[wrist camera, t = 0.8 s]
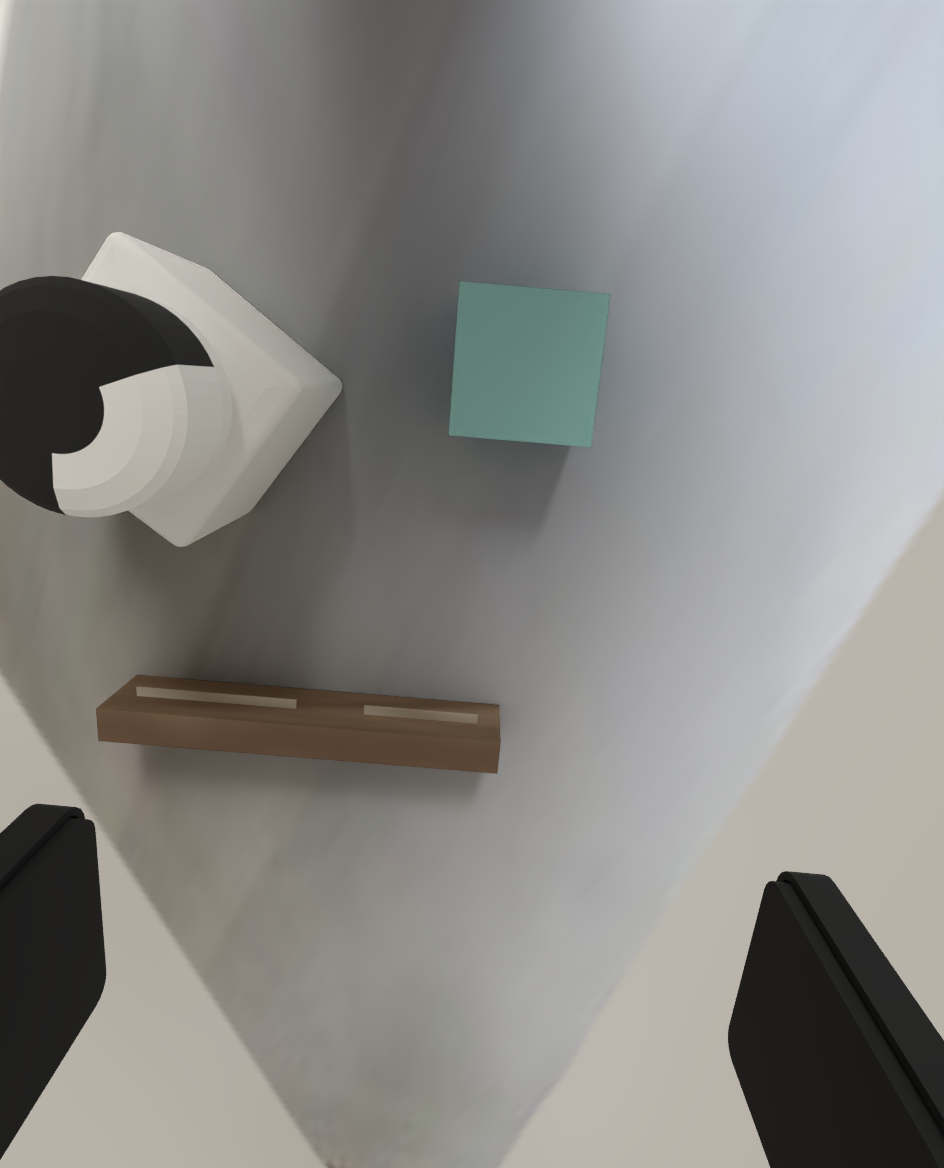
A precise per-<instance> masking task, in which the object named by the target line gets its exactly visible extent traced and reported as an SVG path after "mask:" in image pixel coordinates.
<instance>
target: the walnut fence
mask: <svg viewBox="0 0 944 1168" xmlns="http://www.w3.org/2000/svg"><path fill="white" fill-rule="evenodd" d="M96 714H97V727H98V739H99V741H107V742H119V743H131V744H143V745H155V746H168V747H180V748H192V749H204V750H216V751H229V752H241V753H253V754H265V755H277V756H290V757H302V758H314V759H326V760H338V761H351V762H363V763H375V764H387V765H399V766H412V767H424V768H436V769H448V770H460V771H473V772H485V773H497V771H498V761H499V752H500V718H499V705H495V704H483V703H471V702H459V701H446V700H434V699H422V698H410V697H398V696H386V695H374V694H361V693H349V692H337V691H325V690H313V689H301V688H289V687H276V686H264V685H252V684H240V683H228V682H216V681H204V680H191V679H179V678H167V677H155V676H143V675H136V676H135V677H134V678H133V679H131V680H130V681H129V682H128V683H127V684H125V685H124V686H123V687H122V688H121V689H119V690H118V691H117V692H116V693H115V694H113V695H112V696H111V697H110V698H109V699H107V700H106V701H105V702H104V703H103V704H101V705H100V706H99V707H98V708H97V709H96Z"/></svg>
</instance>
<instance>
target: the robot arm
mask: <svg viewBox="0 0 944 1168" xmlns="http://www.w3.org/2000/svg"><path fill="white" fill-rule="evenodd" d="M102 924H103V923H102V911H101V898H100V884H99V871H98V859H97V846H96V832H95V826H94V823H93V822H92V821H91V820H87V819H85V817H84V813H83V812H82V810H81V809H79V808H77V807H68V806H57V805H45V804H35V805H32V806H30V807H29V808H27V809H26V810H25V811H24V812H23V813H22V814H21V815H19V817H17V818H16V820H14V821H13V822H12V823H11V824H10V825H9V826H8V827H7V828H6V829H5V830H3V831H2V832H1V833H0V1159H1V1158H2V1156H3V1155H4V1153H5V1151H6V1150H7V1148H8V1147H9V1145H10V1143H11V1142H12V1140H13V1138H14V1137H15V1135H16V1134H17V1132H18V1130H19V1129H20V1127H21V1126H22V1124H23V1122H24V1121H25V1119H26V1118H27V1116H28V1114H29V1113H30V1111H31V1110H32V1108H33V1106H34V1105H35V1103H36V1102H37V1100H38V1098H39V1096H40V1095H41V1093H42V1092H43V1090H44V1089H45V1087H46V1085H47V1084H48V1082H49V1080H50V1079H51V1077H52V1076H53V1074H54V1073H55V1071H56V1069H57V1068H58V1066H59V1065H60V1063H61V1061H62V1060H63V1058H64V1057H65V1055H66V1053H67V1052H68V1050H69V1048H70V1047H71V1045H72V1044H73V1042H74V1040H75V1039H76V1037H77V1036H78V1034H79V1032H80V1030H81V1029H82V1028H83V1026H84V1024H85V1023H86V1021H87V1020H88V1018H89V1016H90V1015H91V1013H92V1012H93V1010H94V1008H95V1007H96V1005H97V1003H98V1001H99V999H100V997H101V994H102V992H103V989H104V985H105V980H106V963H105V950H104V936H103V925H102ZM728 1043H729V1050H730V1056H731V1059H732V1063H733V1065H734V1068H735V1071H736V1074H737V1077H738V1079H739V1082H740V1085H741V1088H742V1090H743V1093H744V1096H745V1099H746V1101H747V1104H748V1107H749V1110H750V1112H751V1115H752V1118H753V1121H754V1124H755V1126H756V1129H757V1132H758V1135H759V1137H760V1140H761V1143H762V1146H763V1148H764V1151H765V1154H766V1157H767V1159H768V1162H769V1165H770V1168H944V1040H943V1039H942V1037H941V1036H940V1035H939V1033H938V1032H937V1030H936V1029H935V1028H934V1026H933V1024H932V1023H931V1022H930V1020H929V1019H928V1017H927V1016H926V1014H925V1013H924V1012H923V1010H922V1009H921V1007H920V1006H919V1004H918V1003H917V1001H916V1000H915V999H914V997H913V996H912V994H911V993H910V991H909V990H908V989H907V987H906V986H905V984H904V983H903V981H902V980H901V978H900V977H899V975H898V974H897V972H896V971H895V970H894V968H893V967H892V965H891V964H890V962H889V961H888V959H887V958H886V957H885V955H884V954H883V952H882V951H881V949H880V948H879V946H878V945H877V944H876V942H875V941H874V939H873V938H872V937H871V935H870V934H869V932H868V931H867V929H866V928H865V926H864V925H863V923H862V922H861V921H860V919H859V918H858V916H857V915H856V913H855V912H854V910H853V909H852V907H851V906H850V905H849V903H848V902H847V900H846V899H845V897H844V896H843V895H842V893H841V892H840V890H839V889H838V887H837V886H836V884H835V883H834V882H833V881H832V880H831V878H830V877H828V876H826V875H821V874H809V873H799V872H788V871H786V872H782V873H781V874H780V875H779V876H778V878H777V881H776V882H775V881H770V882H768V883H767V884H766V887H765V889H764V893H763V897H762V900H761V904H760V908H759V912H758V916H757V920H756V924H755V928H754V931H753V936H752V939H751V943H750V947H749V951H748V955H747V959H746V963H745V966H744V970H743V975H742V978H741V982H740V986H739V990H738V994H737V997H736V1001H735V1005H734V1009H733V1013H732V1017H731V1021H730V1025H729V1030H728Z"/></svg>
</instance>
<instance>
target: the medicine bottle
mask: <svg viewBox="0 0 944 1168" xmlns="http://www.w3.org/2000/svg"><path fill="white" fill-rule="evenodd" d="M342 388H343V387H342V382H341V381H340V380H339V378H337V377H336V376H335V375H334V374H333V373H332V372H330V371H329V370H328V369H327V368H326V367H324V366H323V365H322V364H321V363H320V362H318V361H317V360H316V359H315V358H314V357H312V356H311V355H310V354H309V353H308V352H307V351H305V350H304V349H303V348H302V347H301V346H299V345H298V344H297V343H296V342H295V341H293V340H292V339H291V338H290V337H289V336H288V335H286V334H285V333H284V332H283V331H282V330H280V329H279V328H278V327H277V326H276V325H274V324H273V323H272V322H271V321H270V320H268V319H267V318H266V317H265V316H264V315H263V314H261V313H260V312H259V311H258V310H257V309H255V308H254V307H253V306H252V305H251V304H249V303H248V302H247V301H246V300H245V299H244V298H242V297H241V296H240V295H239V294H238V293H236V292H235V291H234V290H233V289H232V288H230V287H229V286H228V285H227V284H226V283H224V282H223V281H222V280H221V279H220V278H219V277H217V276H216V275H215V274H214V273H213V272H211V271H210V270H209V269H207V268H205V267H203V266H201V265H198V264H196V263H193V262H191V261H189V260H186V259H184V258H181V257H179V256H177V255H174V254H172V253H170V252H167V251H165V250H162V249H160V248H158V247H155V246H153V245H151V244H148V243H146V242H143V241H141V240H139V239H136V238H134V237H132V236H129V235H127V234H124V233H122V232H115V233H111V234H110V235H109V236H108V237H107V239H106V240H105V242H104V244H103V245H102V247H101V249H100V250H99V252H98V253H97V255H96V257H95V258H94V260H93V261H92V263H91V265H90V266H89V268H88V270H87V271H86V273H85V274H84V276H83V278H82V279H81V280H79V279H74V278H70V277H58V276H46V277H35V278H31V279H27V280H23V281H19V282H17V283H14V284H12V285H10V286H7V287H5V288H3V289H2V290H0V480H1V481H3V482H4V483H5V484H6V485H7V486H8V487H9V488H11V489H12V490H13V491H15V492H16V493H18V494H19V495H20V496H22V497H23V498H25V499H27V500H29V501H31V502H32V503H34V504H36V505H38V506H41V507H43V508H45V509H48V510H50V511H54V512H57V513H61V514H64V515H70V516H77V517H103V516H110V515H114V514H118V513H121V512H125V511H129V512H131V513H132V514H133V515H135V516H136V517H137V518H139V519H140V520H141V521H143V522H144V523H145V524H147V525H148V526H149V527H151V528H152V529H153V530H155V531H156V532H157V533H159V534H160V535H161V536H162V537H164V538H165V539H166V540H168V541H169V542H170V543H172V544H173V545H175V546H177V547H185V546H188V545H189V544H191V543H193V542H195V541H197V540H199V539H201V538H203V537H204V536H206V535H208V534H210V533H212V532H214V531H216V530H217V529H219V528H221V527H223V526H225V525H227V524H229V523H230V522H232V521H234V520H236V519H238V518H240V517H242V516H243V515H245V514H247V513H249V512H250V511H251V510H252V509H253V508H254V507H255V505H256V504H257V503H258V501H259V500H260V499H261V497H262V496H263V495H264V493H265V492H266V491H267V489H268V488H269V487H270V485H271V484H272V483H273V481H274V480H275V479H276V477H277V476H278V475H279V473H280V472H281V471H282V469H283V468H284V467H285V465H286V464H287V463H288V461H289V460H290V459H291V458H292V456H293V455H294V454H295V452H296V451H297V450H298V448H299V447H300V446H301V444H302V443H303V442H304V440H305V439H306V438H307V436H308V435H309V434H310V432H311V431H312V430H313V428H314V427H315V426H316V424H317V423H318V422H319V420H320V419H321V418H322V416H323V415H324V414H325V412H326V411H327V410H328V408H329V407H330V406H331V404H332V403H333V402H334V401H335V399H336V398H337V397H338V395H339V394H340V393H341V390H342Z"/></svg>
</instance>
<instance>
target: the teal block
mask: <svg viewBox="0 0 944 1168" xmlns="http://www.w3.org/2000/svg"><path fill="white" fill-rule="evenodd" d="M609 301H610V294H605V293H593V292H582V291H570V290H558V289H546V288H534V287H523V286H511V285H499V284H487V283H475V282H464V281H459V294H458V308H457V323H456V337H455V351H454V365H453V380H452V394H451V408H450V422H449V435H450V436H462V437H474V438H485V439H497V440H509V441H521V442H533V443H545V444H557V445H568V446H580V447H591V443H592V435H593V427H594V419H595V411H596V403H597V396H598V388H599V380H600V372H601V364H602V356H603V348H604V341H605V333H606V325H607V317H608V309H609Z"/></svg>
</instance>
